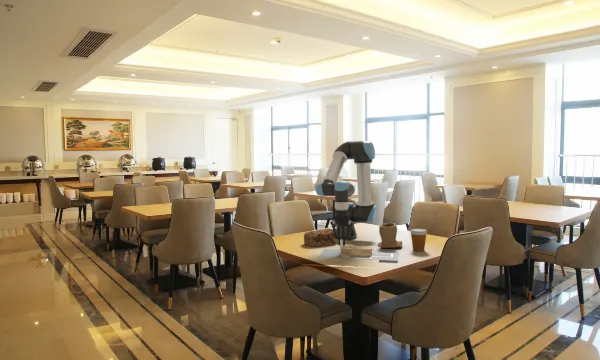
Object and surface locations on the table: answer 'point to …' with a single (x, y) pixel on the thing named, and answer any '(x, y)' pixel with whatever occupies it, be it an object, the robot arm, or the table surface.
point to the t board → (376, 255)
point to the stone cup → (389, 236)
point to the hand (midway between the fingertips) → (341, 251)
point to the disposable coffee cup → (418, 239)
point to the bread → (320, 238)
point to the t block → (355, 251)
